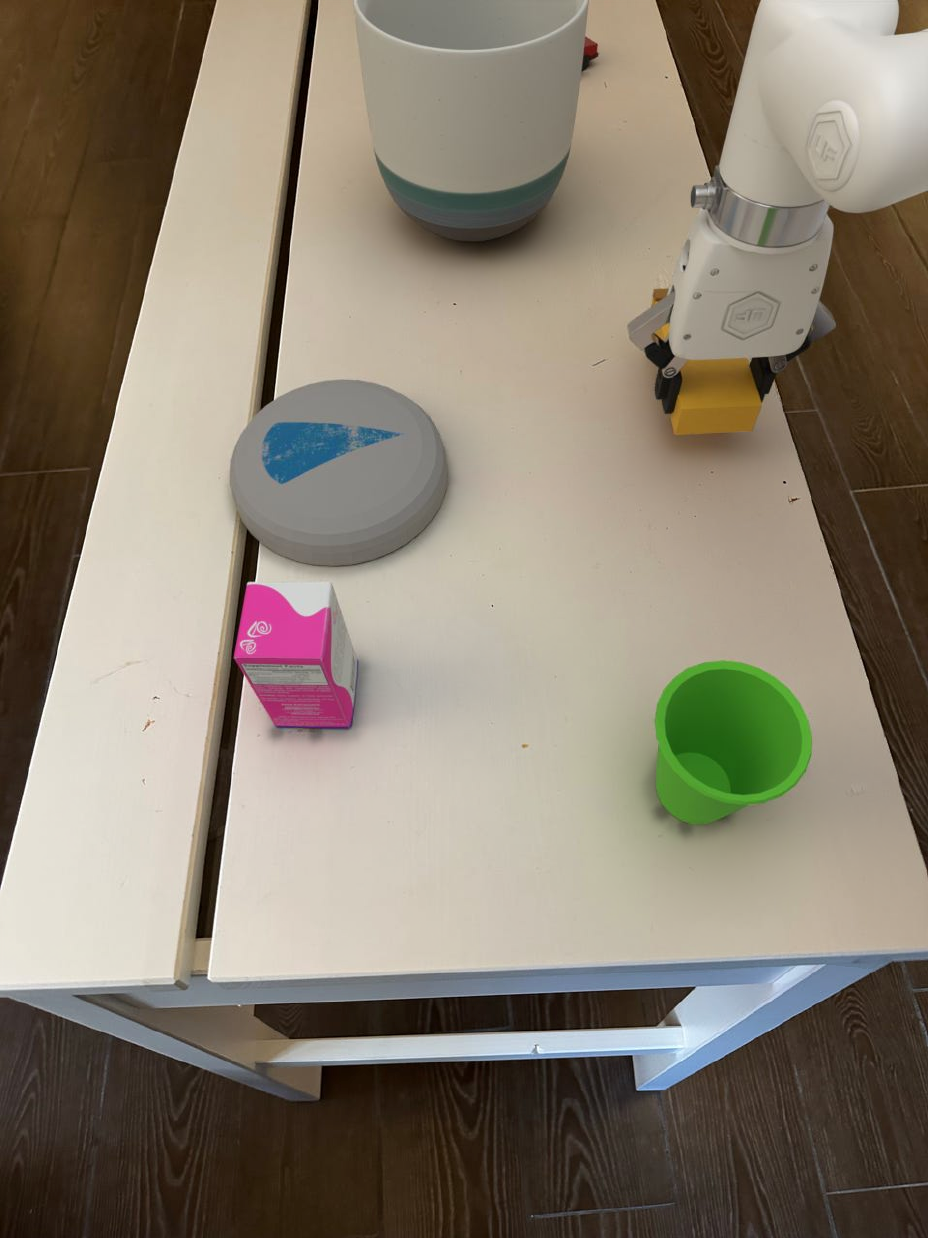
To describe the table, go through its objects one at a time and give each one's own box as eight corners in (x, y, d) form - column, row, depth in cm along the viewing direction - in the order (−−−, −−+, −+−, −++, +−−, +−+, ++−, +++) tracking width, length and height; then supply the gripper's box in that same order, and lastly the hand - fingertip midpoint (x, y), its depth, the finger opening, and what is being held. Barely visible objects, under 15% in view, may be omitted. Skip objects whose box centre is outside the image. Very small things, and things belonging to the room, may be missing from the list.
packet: (752, 431, 70) (763, 401, 67) (674, 435, 70) (682, 405, 67) (718, 316, 77) (727, 285, 74) (647, 320, 77) (653, 288, 74)
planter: (579, 273, 86) (606, 44, 67) (380, 285, 86) (352, 57, 67) (555, 156, 96) (573, -70, 78) (377, 166, 96) (352, -59, 77)
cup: (615, 736, 61) (640, 667, 51) (738, 722, 61) (786, 651, 51) (642, 861, 56) (675, 811, 46) (775, 846, 56) (835, 793, 47)
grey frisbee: (465, 547, 69) (464, 509, 65) (240, 584, 68) (223, 548, 63) (429, 387, 78) (426, 345, 74) (229, 416, 77) (214, 375, 72)
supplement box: (282, 659, 64) (246, 577, 54) (359, 660, 64) (337, 579, 54) (271, 729, 61) (231, 657, 51) (352, 731, 61) (327, 659, 51)
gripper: (647, 241, 53) (611, 438, 69) (919, 228, 54) (822, 428, 69) (630, 172, 57) (599, 373, 73) (883, 160, 57) (799, 363, 73)
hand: (708, 398), depth 71 cm, fingers closed on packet, 6 cm apart
